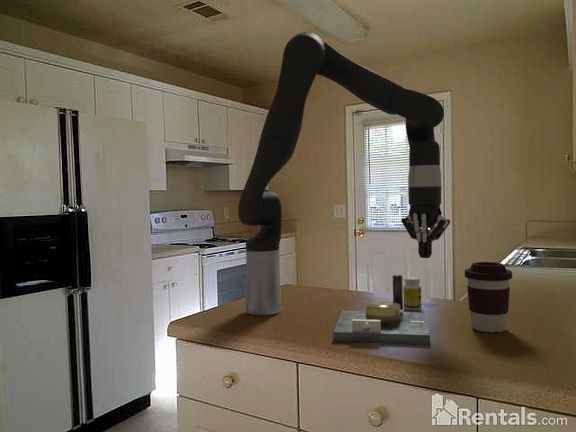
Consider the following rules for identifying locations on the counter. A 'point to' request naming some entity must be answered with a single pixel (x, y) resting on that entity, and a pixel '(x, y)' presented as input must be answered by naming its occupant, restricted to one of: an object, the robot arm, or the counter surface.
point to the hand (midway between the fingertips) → (424, 257)
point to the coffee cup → (488, 295)
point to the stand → (382, 329)
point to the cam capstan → (387, 305)
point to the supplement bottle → (412, 293)
